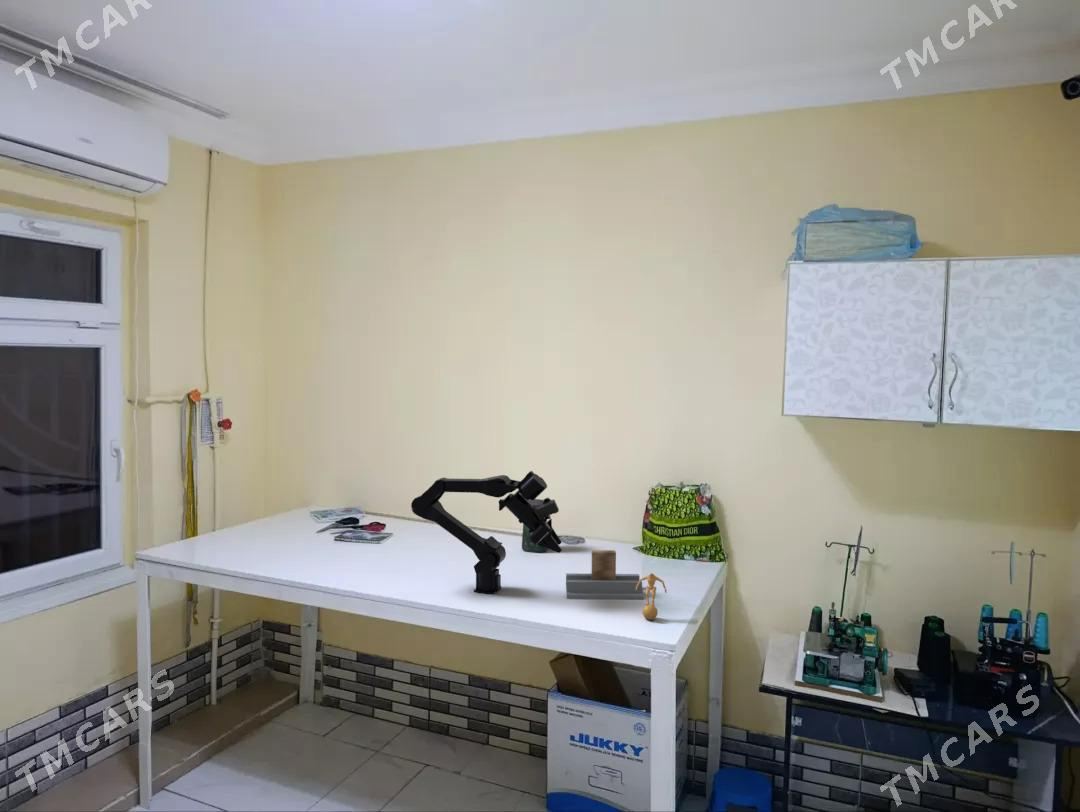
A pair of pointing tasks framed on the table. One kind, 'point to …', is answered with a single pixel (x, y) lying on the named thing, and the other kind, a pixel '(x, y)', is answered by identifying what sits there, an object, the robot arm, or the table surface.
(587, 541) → the table surface
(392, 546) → the table surface
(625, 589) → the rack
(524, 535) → the coffee jar
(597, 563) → the plaque
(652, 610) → the figurine
